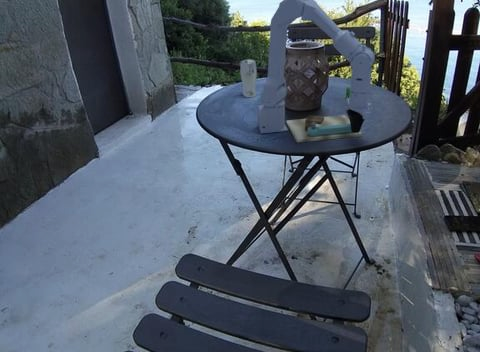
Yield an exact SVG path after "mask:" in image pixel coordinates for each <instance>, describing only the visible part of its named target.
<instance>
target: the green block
mask: <svg viewBox="0 0 480 352" xmlns="http://www.w3.org/2000/svg"><path fill="white" fill-rule="evenodd" d="M349 95H350V87H346V93H345V98H346V99H347V98H348V96H349Z"/></svg>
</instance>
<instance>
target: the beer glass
mask: <svg viewBox="0 0 480 352" xmlns="http://www.w3.org/2000/svg"><path fill="white" fill-rule="evenodd" d="M256 62H257V61H256V60H255V59H243V60H241V61H240V64H239V65H240V78H241V82H242V89H243V90H242V96H243V95H244V96H246V97H245V98H255V97H256V96H257V91H256V81H257V63H256ZM244 96H243V97H244Z"/></svg>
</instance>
